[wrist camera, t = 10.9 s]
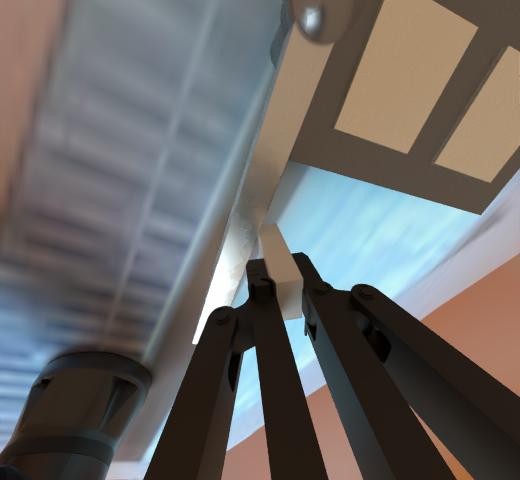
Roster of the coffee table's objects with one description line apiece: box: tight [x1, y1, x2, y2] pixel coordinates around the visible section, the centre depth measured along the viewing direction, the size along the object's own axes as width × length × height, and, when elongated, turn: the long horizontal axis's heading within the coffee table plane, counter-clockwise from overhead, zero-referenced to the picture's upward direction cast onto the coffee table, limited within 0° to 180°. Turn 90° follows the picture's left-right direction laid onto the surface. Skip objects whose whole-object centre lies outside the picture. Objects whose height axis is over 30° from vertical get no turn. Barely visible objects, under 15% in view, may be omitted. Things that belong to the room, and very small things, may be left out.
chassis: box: [270, 0, 520, 215], centre depth 16 cm, size 25×14×5 cm, turn 74°
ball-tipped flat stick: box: [192, 0, 367, 344], centre depth 14 cm, size 26×3×3 cm, turn 160°
